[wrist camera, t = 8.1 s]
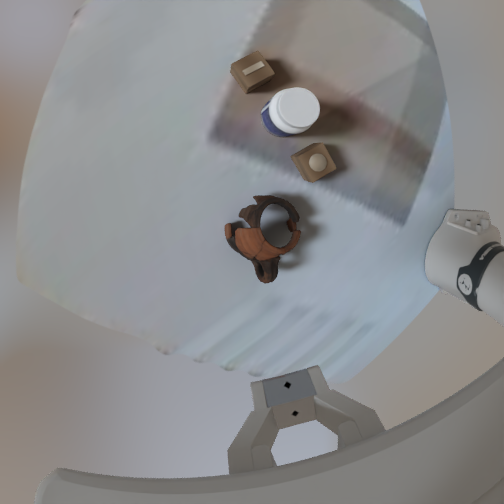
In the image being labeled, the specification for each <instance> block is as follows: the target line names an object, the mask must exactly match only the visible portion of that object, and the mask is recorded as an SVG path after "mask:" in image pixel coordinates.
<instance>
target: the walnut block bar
mask: <svg viewBox="0 0 504 504" xmlns="http://www.w3.org/2000/svg"><path fill="white" fill-rule="evenodd" d="M230 73H231V74H232V75H233V77H234V78H235V79H236V81H237V82H238V84H239V85H240V86H241V88H242V89H243V91H244V92H245V93H248V92H250V91H252V90H253V89H255V88H257V87H259V86H261V85H263V84H265V83H266V82H268V81H270V80H271V78H272V77H273V76H274V74H275V73H274V71H273V70H272V69H271V67H270V66H269V64H268V63H267V62H266V60H265V59H264V58H263V56H262V55H261V54H260V52H259V51H256V52H254V53H252V54H250V55H248V56H246V57H244V58H242V59H240V60H238V61H236V62H234V63H232V64H231V71H230Z"/></svg>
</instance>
